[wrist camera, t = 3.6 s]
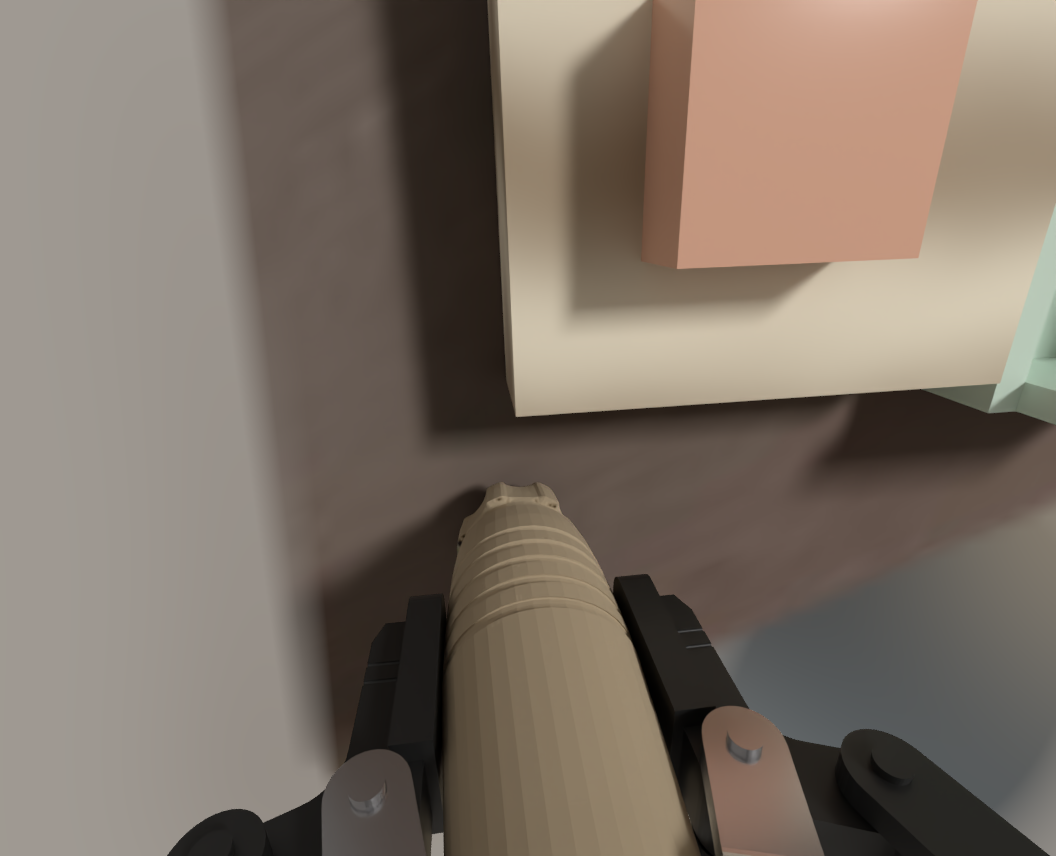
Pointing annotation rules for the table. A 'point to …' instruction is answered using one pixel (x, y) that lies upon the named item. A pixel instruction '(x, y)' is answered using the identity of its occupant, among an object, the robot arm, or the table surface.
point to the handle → (547, 699)
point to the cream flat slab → (763, 290)
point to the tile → (796, 128)
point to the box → (1025, 352)
